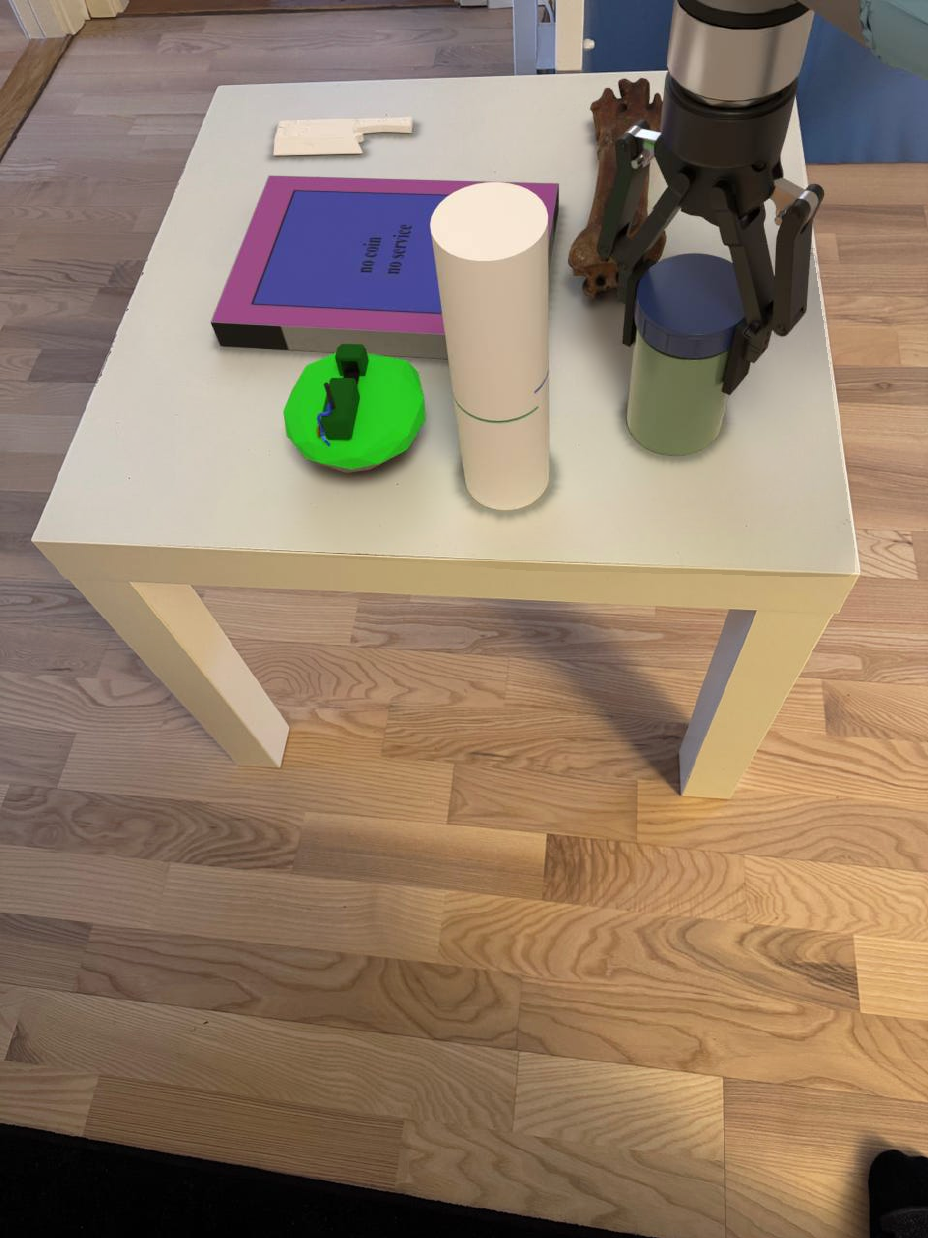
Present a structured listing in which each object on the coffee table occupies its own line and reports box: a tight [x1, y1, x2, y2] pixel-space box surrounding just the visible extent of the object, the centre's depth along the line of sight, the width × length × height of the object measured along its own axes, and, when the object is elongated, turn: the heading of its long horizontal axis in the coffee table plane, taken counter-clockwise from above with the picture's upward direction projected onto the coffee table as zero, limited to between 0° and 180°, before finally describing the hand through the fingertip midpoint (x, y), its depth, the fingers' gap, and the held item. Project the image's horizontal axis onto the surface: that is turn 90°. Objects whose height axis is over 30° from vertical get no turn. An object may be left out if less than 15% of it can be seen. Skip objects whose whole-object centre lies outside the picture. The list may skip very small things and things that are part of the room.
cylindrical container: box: [430, 181, 550, 511], centre depth 66 cm, size 7×7×25 cm
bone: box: [567, 77, 667, 300], centre depth 89 cm, size 9×8×30 cm
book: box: [210, 175, 560, 360], centre depth 89 cm, size 21×3×30 cm
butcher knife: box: [273, 116, 414, 156], centre depth 101 cm, size 5×15×1 cm, turn 84°
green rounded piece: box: [282, 344, 426, 474], centre depth 76 cm, size 12×12×11 cm
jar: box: [626, 326, 731, 457], centre depth 73 cm, size 8×8×13 cm
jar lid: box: [634, 252, 745, 358], centre depth 68 cm, size 8×8×2 cm
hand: (683, 358), depth 72 cm, fingers closed on jar lid, 8 cm apart
